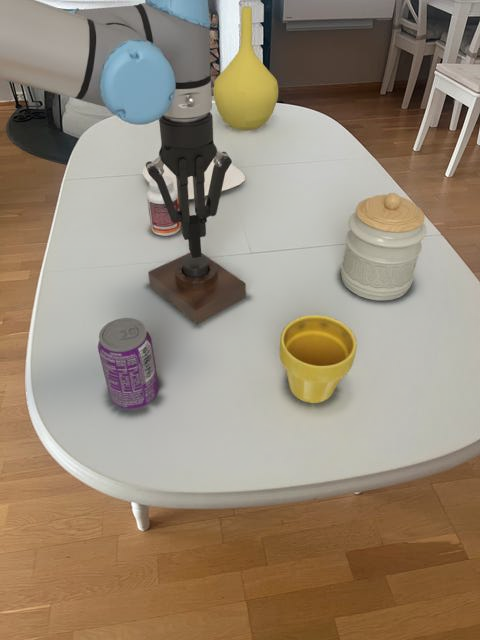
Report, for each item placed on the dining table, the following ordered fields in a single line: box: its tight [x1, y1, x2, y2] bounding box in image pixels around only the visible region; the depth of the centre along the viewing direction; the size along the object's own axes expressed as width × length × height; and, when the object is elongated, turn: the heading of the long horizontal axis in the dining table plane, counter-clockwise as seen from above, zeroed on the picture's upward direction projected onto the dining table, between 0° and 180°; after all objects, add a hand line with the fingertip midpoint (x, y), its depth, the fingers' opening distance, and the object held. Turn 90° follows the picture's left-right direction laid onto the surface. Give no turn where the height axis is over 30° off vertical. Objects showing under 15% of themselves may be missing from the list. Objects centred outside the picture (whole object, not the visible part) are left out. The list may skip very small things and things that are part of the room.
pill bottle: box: [146, 176, 181, 237], centre depth 106 cm, size 6×6×11 cm
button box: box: [147, 252, 247, 325], centre depth 92 cm, size 14×11×5 cm
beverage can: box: [97, 317, 160, 410], centre depth 72 cm, size 7×7×12 cm
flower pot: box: [279, 314, 358, 404], centre depth 74 cm, size 10×10×10 cm
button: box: [182, 255, 208, 278], centre depth 90 cm, size 4×4×2 cm
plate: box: [142, 159, 246, 201], centre depth 126 cm, size 22×22×2 cm
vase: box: [212, 6, 279, 131], centre depth 143 cm, size 18×18×30 cm
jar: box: [340, 192, 427, 301], centre depth 91 cm, size 13×13×18 cm
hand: (195, 252), depth 88 cm, fingers closed
